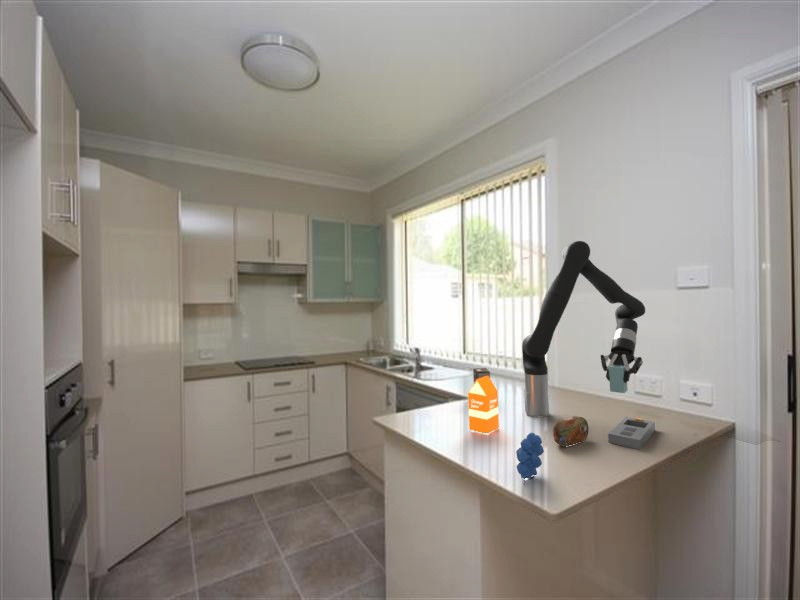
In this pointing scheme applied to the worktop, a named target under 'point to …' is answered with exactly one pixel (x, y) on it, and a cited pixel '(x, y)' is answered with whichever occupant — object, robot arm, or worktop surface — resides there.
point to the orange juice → (483, 406)
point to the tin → (570, 431)
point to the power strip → (631, 432)
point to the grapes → (529, 455)
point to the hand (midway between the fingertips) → (616, 380)
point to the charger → (617, 378)
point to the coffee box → (480, 373)
